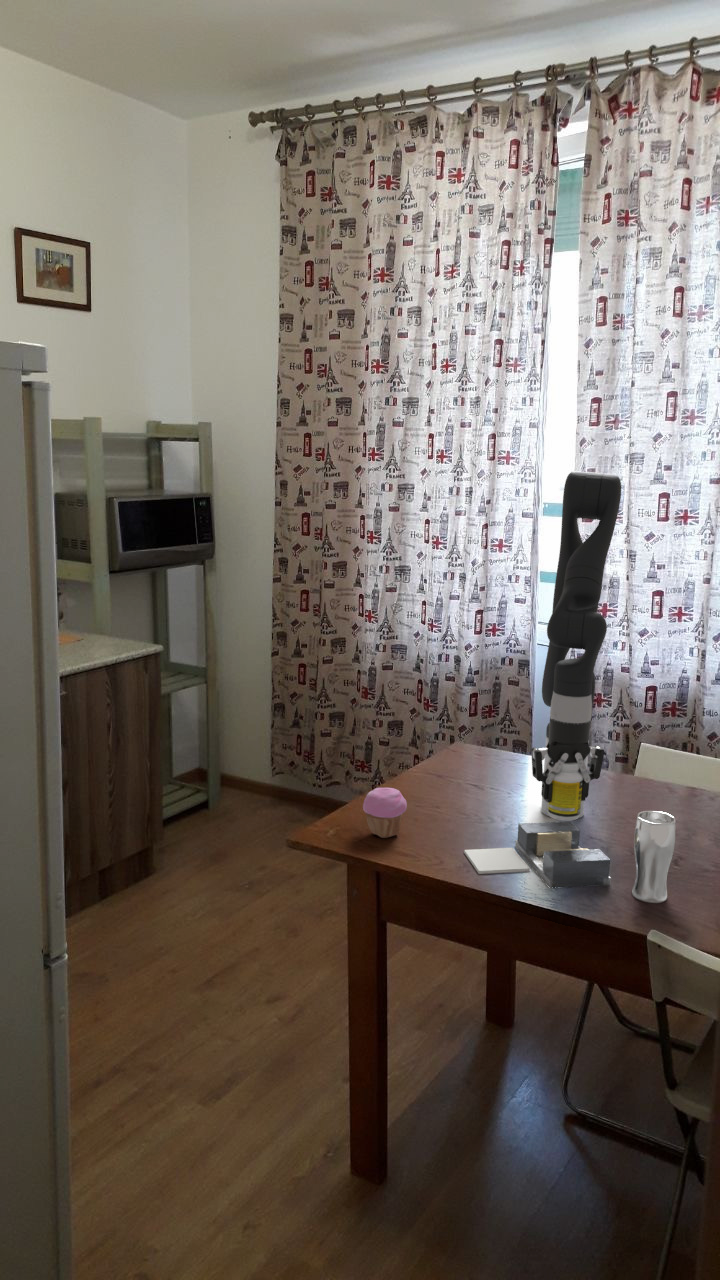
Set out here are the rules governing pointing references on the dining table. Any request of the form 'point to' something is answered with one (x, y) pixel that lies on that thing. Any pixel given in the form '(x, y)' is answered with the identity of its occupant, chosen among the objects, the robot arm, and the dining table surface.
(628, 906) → the dining table surface
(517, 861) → the placing pad
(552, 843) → the bench vise
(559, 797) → the pill bottle
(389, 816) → the cupcake
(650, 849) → the beer glass
